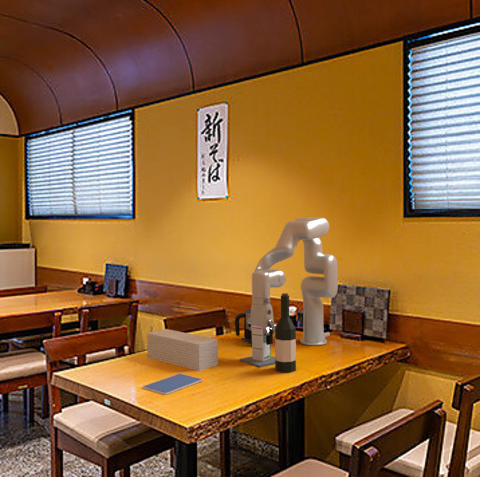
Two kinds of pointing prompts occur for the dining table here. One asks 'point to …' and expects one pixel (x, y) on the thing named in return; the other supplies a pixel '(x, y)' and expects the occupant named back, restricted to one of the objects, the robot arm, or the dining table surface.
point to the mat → (258, 363)
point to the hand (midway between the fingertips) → (261, 342)
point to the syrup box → (260, 344)
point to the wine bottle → (285, 340)
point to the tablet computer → (172, 384)
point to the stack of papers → (183, 349)
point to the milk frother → (246, 328)
